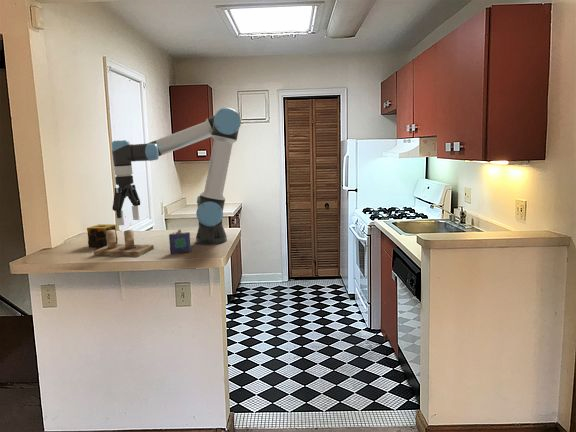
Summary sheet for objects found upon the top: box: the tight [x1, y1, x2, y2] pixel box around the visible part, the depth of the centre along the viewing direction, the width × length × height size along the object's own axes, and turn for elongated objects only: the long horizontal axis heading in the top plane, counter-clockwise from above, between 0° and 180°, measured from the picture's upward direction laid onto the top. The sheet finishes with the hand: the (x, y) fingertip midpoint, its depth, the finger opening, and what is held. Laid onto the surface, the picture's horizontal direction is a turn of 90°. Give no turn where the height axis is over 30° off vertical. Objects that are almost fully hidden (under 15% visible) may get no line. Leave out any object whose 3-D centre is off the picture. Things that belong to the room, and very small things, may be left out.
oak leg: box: [123, 229, 135, 249], centre depth 213 cm, size 4×4×10 cm
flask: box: [168, 228, 192, 255], centre depth 210 cm, size 9×3×11 cm, turn 114°
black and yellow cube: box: [86, 223, 119, 249], centre depth 229 cm, size 10×10×10 cm
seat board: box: [93, 230, 155, 257], centre depth 214 cm, size 22×14×10 cm, turn 80°
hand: (128, 222), depth 212 cm, fingers open, 13 cm apart
